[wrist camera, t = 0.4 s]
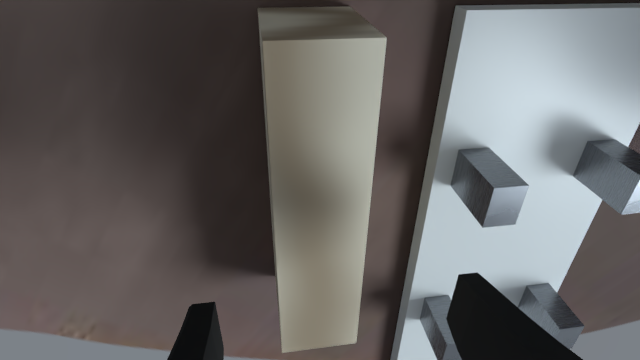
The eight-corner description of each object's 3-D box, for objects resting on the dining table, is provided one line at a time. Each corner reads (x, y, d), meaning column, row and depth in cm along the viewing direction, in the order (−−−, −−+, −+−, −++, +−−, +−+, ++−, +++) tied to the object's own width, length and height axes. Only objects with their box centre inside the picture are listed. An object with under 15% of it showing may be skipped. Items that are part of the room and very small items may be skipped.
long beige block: (348, 5, 16) (387, 37, 11) (336, 266, 23) (356, 342, 19) (257, 6, 15) (262, 41, 11) (275, 273, 23) (282, 352, 19)
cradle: (674, 2, 17) (782, 24, 14) (517, 345, 30) (552, 401, 27) (455, 5, 16) (514, 30, 12) (389, 363, 29) (409, 424, 26)
